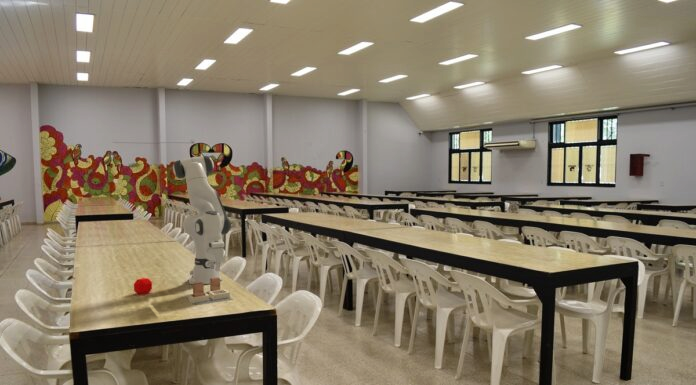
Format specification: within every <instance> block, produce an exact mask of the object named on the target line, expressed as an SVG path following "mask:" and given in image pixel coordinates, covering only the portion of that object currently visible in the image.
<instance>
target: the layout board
mask: <svg viewBox="0 0 696 385" xmlns="http://www.w3.org/2000/svg"><path fill="white" fill-rule="evenodd" d="M185 299H186V300H187V301H188V302H190V303H191V304H192V305H194V306H202V305H208V304H215V303H221V302H226V301H233V300H234V298H232V297H231V292H230V291H228V290H227V289H220V290H217V291H208V293H207V292H205V291H204V296H198V297H193V293H190V294H187V297H185Z"/></svg>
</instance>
